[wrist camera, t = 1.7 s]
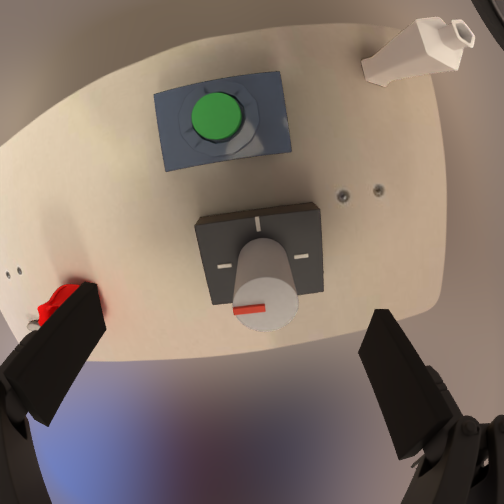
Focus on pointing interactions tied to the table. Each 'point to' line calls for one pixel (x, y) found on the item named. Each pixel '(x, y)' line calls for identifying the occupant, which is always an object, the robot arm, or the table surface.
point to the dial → (264, 287)
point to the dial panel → (254, 227)
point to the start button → (216, 116)
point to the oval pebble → (33, 326)
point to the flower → (55, 302)
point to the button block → (237, 145)
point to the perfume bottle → (419, 51)
